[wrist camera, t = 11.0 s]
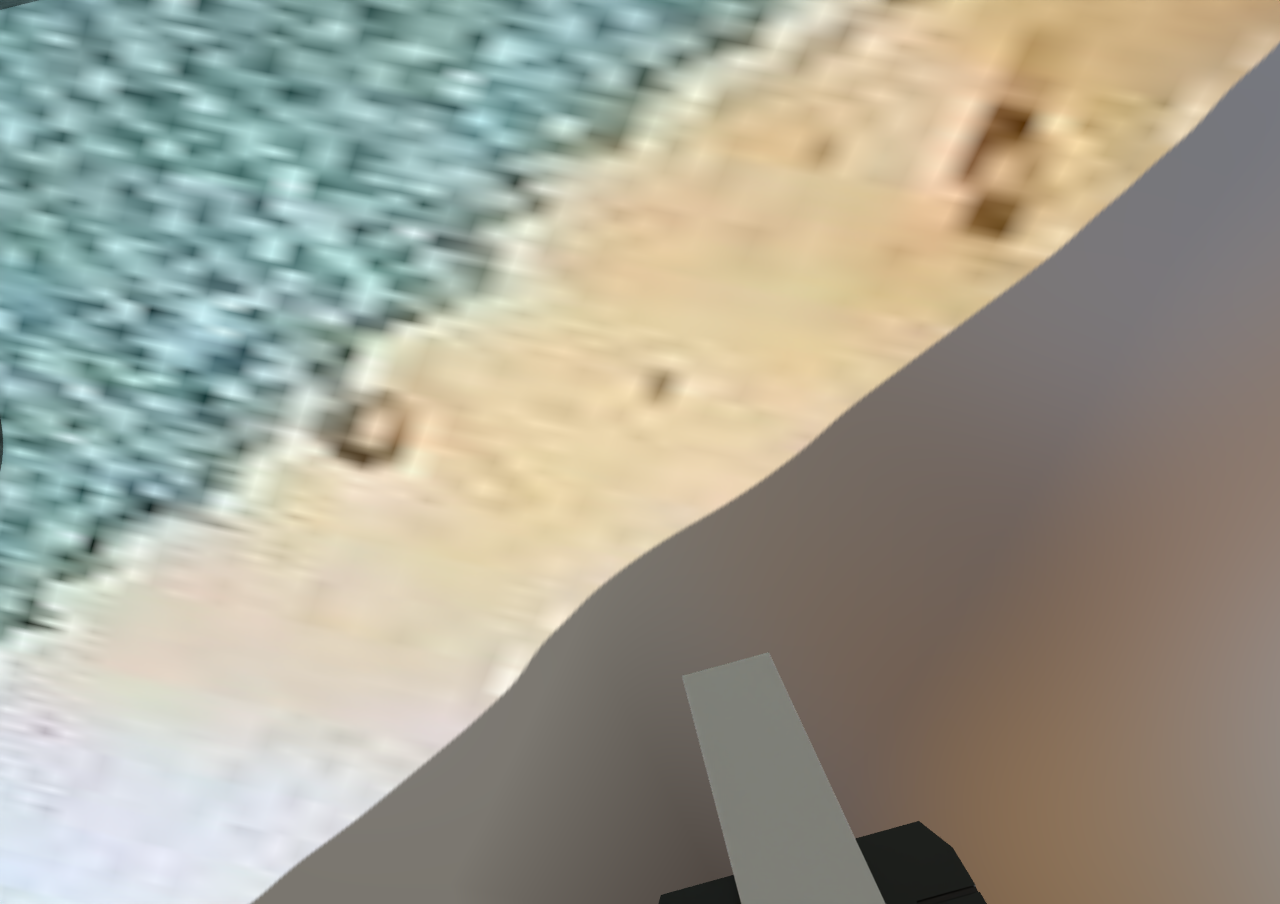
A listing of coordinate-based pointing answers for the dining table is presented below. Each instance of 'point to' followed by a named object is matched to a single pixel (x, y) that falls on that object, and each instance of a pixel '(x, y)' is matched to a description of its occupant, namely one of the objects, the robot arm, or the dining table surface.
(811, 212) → the dining table surface
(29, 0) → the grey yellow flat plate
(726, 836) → the robot arm
